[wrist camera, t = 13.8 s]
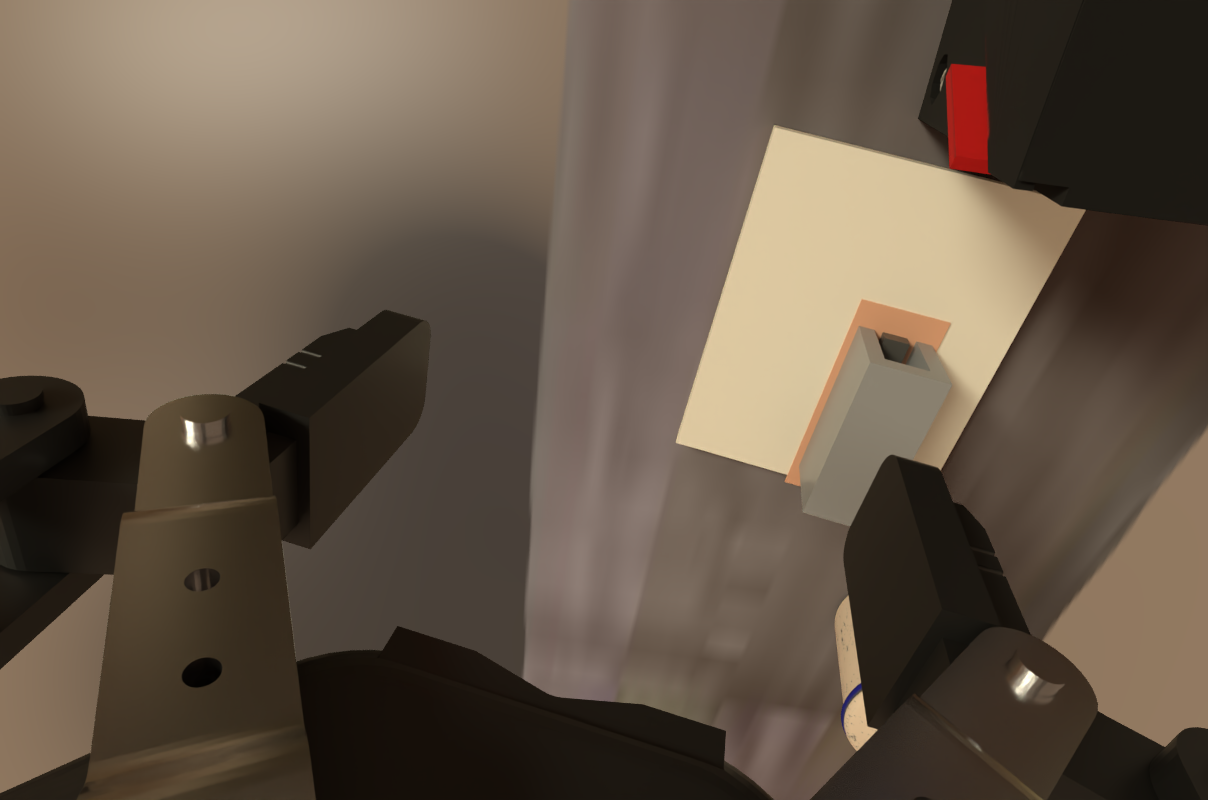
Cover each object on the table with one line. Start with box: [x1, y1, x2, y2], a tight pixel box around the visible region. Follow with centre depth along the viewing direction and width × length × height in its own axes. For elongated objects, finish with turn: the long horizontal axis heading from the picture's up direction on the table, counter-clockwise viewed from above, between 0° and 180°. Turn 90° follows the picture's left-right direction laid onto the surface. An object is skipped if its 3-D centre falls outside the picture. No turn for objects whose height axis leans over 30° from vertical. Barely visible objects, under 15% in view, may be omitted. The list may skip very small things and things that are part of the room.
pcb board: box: [676, 125, 1086, 486], centre depth 41 cm, size 20×16×1 cm
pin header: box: [879, 332, 910, 363], centre depth 42 cm, size 10×1×1 cm, turn 168°
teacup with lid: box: [835, 596, 877, 751], centre depth 45 cm, size 12×9×12 cm
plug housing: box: [799, 326, 952, 526], centre depth 40 cm, size 10×4×5 cm, turn 168°
